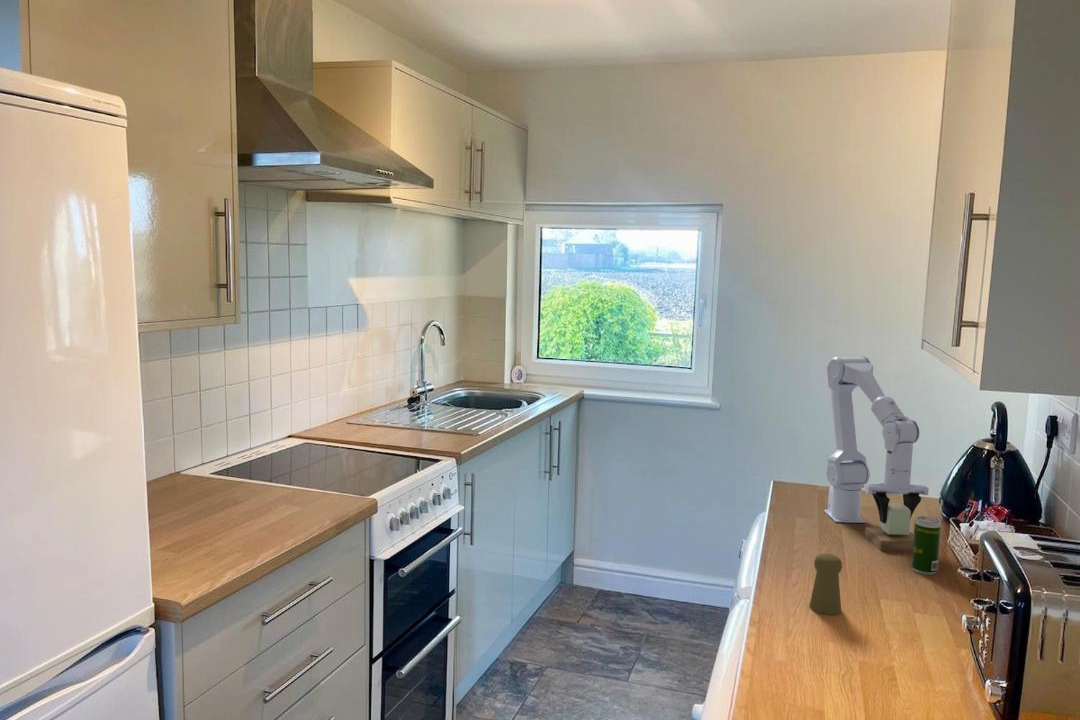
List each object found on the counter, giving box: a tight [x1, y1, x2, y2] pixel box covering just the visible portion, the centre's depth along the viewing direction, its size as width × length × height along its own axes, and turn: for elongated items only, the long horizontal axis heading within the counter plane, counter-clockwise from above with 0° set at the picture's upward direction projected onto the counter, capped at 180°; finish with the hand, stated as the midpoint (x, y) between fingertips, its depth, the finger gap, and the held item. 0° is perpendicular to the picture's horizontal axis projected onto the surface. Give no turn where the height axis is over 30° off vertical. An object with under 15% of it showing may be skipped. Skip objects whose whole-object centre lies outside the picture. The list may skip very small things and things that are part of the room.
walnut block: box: [864, 526, 914, 553], centre depth 194 cm, size 10×10×3 cm
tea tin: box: [879, 502, 912, 535], centre depth 193 cm, size 5×5×6 cm
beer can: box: [910, 515, 942, 576], centre depth 176 cm, size 5×5×12 cm
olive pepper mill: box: [809, 553, 843, 616], centre depth 156 cm, size 6×6×11 cm
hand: (894, 522), depth 193 cm, fingers closed on tea tin, 5 cm apart
